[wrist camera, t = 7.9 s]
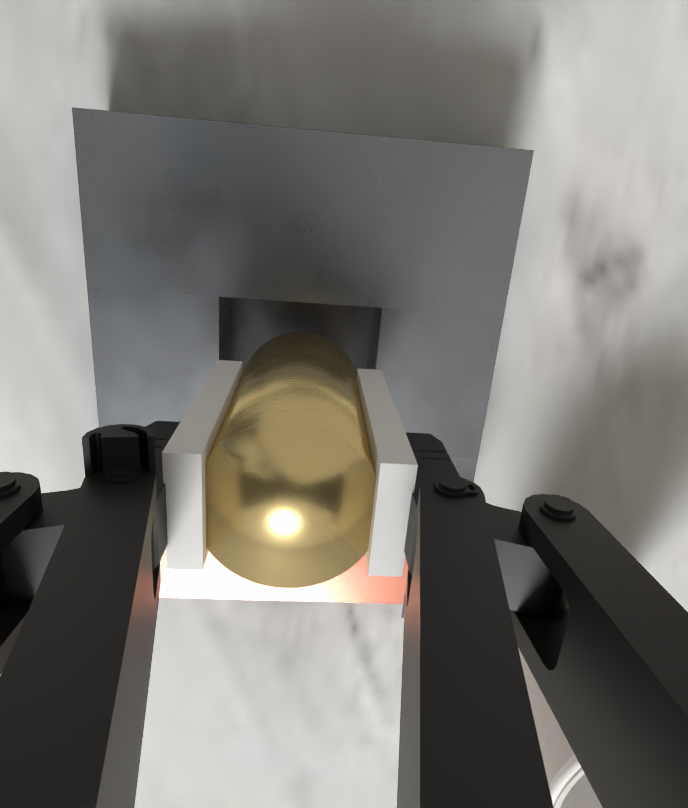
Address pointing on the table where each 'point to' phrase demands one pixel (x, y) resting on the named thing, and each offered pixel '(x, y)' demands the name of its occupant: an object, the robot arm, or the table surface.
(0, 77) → the table surface
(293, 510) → the brass cylinder
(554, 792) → the dixie cup
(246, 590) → the jig
